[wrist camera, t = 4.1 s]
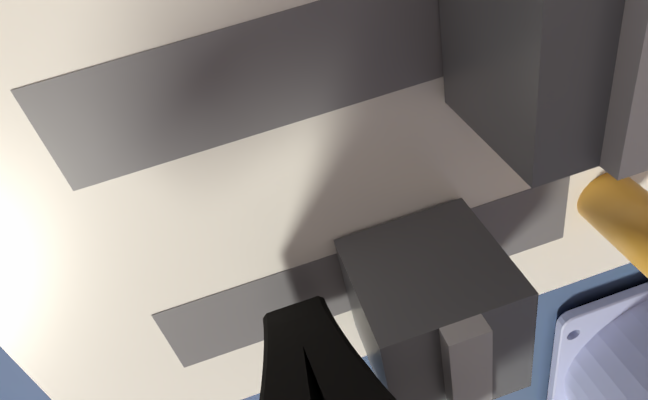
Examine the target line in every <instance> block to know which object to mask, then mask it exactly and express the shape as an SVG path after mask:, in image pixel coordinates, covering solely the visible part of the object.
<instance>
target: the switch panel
mask: <svg viewBox="0 0 648 400" xmlns="http://www.w3.org/2000/svg"><path fill="white" fill-rule="evenodd" d="M459 198H462V199H463V200H464V201H465V202H466V204H467V205H468V206H469V207H470V209H471V210H472V211H473V212H474V214H475V215H476V216H477V217H478V219H479V220H480V221H481V222H482V224H483V225H484V226H485V227H486V229H487V230H488V231H489V232H490V234H491V235H492V236H493V237H494V239H495V240H496V241H497V242H498V244H499V245H500V246H501V247H502V248H503V250H504V251H505V252H506V253H507V255H508V256H509V257H510V258H511V260H512V261H513V262H514V263H515V265H516V266H517V267H518V268H519V270H520V271H521V272H522V273H523V275H524V276H525V277H526V278H527V280H528V281H529V282H530V283H531V285H532V286H533V287H534V288H535V290H536V291H537V292H538V295H540V294H543V293H545V292H548V291H551V290H554V289H557V288H560V287H562V286H565V285H568V284H571V283H574V282H577V281H579V280H582V279H585V278H588V277H591V276H594V275H597V274H599V273H602V272H605V271H608V270H611V269H614V268H616V267H619V266H622V265H625V264H628V263H632V264H633V265H634V266H635V267H636V268H637V269H638V270H639V271H641V272H642V273H643V274H644V275H645V276H646V277H647V278H648V171H645V172H642V173H639V174H636V175H633V176H630V177H627V178H624V179H621V180H616V179H615V178H614V177H612V176H611V175H610V174H609V173H607V172H606V171H605V170H604V169H602V168H601V167H600V166H598V167H595V168H592V169H589V170H586V171H583V172H580V173H577V174H574V175H571V176H568V177H565V178H562V179H559V180H556V181H553V182H550V183H547V184H544V185H541V186H538V187H535V188H531V187H530V186H529V185H528V184H527V183H526V182H525V181H524V180H523V179H522V178H521V177H520V176H519V175H518V174H517V173H516V172H515V171H514V170H513V169H512V168H511V167H510V166H509V165H508V164H507V163H506V162H505V161H504V160H503V159H502V158H501V157H500V156H499V155H498V154H497V153H496V152H495V151H494V150H493V149H492V148H491V147H490V146H489V145H488V144H487V143H486V142H485V141H484V140H483V139H482V138H481V137H480V136H479V135H478V134H477V133H476V132H475V131H474V130H473V129H472V128H471V127H470V126H468V125H467V124H466V123H465V122H464V121H463V120H462V119H461V118H460V117H459V116H458V115H457V114H456V113H455V112H454V111H453V110H452V109H451V108H450V107H449V106H448V105H447V104H446V103H445V94H444V78H443V61H442V45H441V28H440V12H439V0H0V346H1V347H2V348H3V349H4V350H5V352H6V353H7V354H8V355H9V356H10V357H11V358H12V359H13V360H14V361H15V362H16V363H17V364H18V365H19V366H20V367H21V368H22V369H23V370H24V371H25V372H26V373H27V374H28V375H29V376H30V378H31V379H32V380H33V381H34V382H35V383H36V384H37V385H38V386H39V387H40V388H41V389H42V390H43V391H44V392H45V393H46V394H47V395H48V396H49V397H50V398H51V399H52V400H241V399H244V398H247V397H250V396H253V395H255V394H258V393H260V390H261V381H262V370H263V353H264V327H263V317H264V316H265V315H266V313H269V312H272V311H274V310H277V309H280V308H283V307H286V306H289V305H292V304H295V303H298V302H301V301H304V300H307V299H310V298H313V297H316V296H320V297H323V298H324V299H325V301H326V304H327V306H328V308H329V310H330V312H331V314H332V315H333V317H334V319H335V320H336V322H337V324H338V325H339V327H340V328H341V330H342V331H343V333H344V334H345V336H346V337H347V339H348V340H349V342H350V343H351V345H352V346H353V347H354V349H355V350H356V351H357V353H358V354H359V355H360V357H363V356H366V355H367V354H366V351H365V349H364V346H363V344H362V341H361V339H360V336H359V333H358V331H357V328H356V326H355V322H354V318H353V314H352V311H351V307H350V303H349V299H348V295H347V291H346V287H345V283H344V279H343V275H342V271H341V267H340V264H339V260H338V256H337V252H336V248H335V244H334V240H335V239H338V238H341V237H344V236H347V235H350V234H353V233H356V232H359V231H362V230H365V229H368V228H371V227H374V226H377V225H380V224H384V223H387V222H390V221H393V220H396V219H399V218H402V217H405V216H408V215H411V214H414V213H417V212H420V211H423V210H426V209H429V208H432V207H435V206H438V205H441V204H444V203H447V202H450V201H453V200H456V199H459Z"/></svg>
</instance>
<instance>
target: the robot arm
mask: <svg viewBox="0 0 648 400" xmlns="http://www.w3.org/2000/svg"><path fill="white" fill-rule="evenodd" d="M263 327H264V353H263V370H262V381H261V390H260V399H259V400H397V399H396V398H395V397H394V396H393V395H392V394H391V393H390V392H389V391H388V389H387V388H386V387H385V386H384V385H383V384H382V382H381V381H380V380H379V379H378V378H377V377H376V375H375V374H374V373H373V372H372V370H371V369H370V368H369V367H368V365H367V364H366V363H365V362H364V360H363V359H362V358H361V357H360V355H359V354H358V353H357V351H356V350H355V349H354V347H353V346H352V345H351V343H350V342H349V340H348V339H347V337H346V336H345V334H344V333H343V331H342V330H341V328H340V327H339V325H338V324H337V322H336V320H335V319H334V317H333V315H332V314H331V312H330V310H329V308H328V306H327V304H326V301H325V299H324V298H323V297H320V296H316V297H313V298H310V299H307V300H304V301H301V302H298V303H295V304H292V305H289V306H286V307H283V308H280V309H277V310H274V311H272V312H269V313H266V315H265V316H264V317H263ZM547 400H648V282H647V283H644V284H641V285H638V286H635V287H633V288H630V289H627V290H624V291H621V292H619V293H616V294H613V295H610V296H607V297H605V298H602V299H599V300H596V301H593V302H590V303H588V304H585V305H582V306H579V307H576V308H574V309H571V310H568V311H566V312H564V313H563V314H562V315H561V316H560V317H559V318H558V320H557V322H556V329H555V337H554V345H553V353H552V362H551V370H550V378H549V386H548V394H547Z"/></svg>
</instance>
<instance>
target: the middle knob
mask: <svg viewBox="0 0 648 400" xmlns="http://www.w3.org/2000/svg"><path fill="white" fill-rule="evenodd" d="M439 12H440V28H441V45H442V61H443V78H444V94H445V103H446V104H447V105H448V106H449V107H450V108H451V109H452V110H453V111H454V112H455V113H456V114H457V115H458V116H459V117H460V118H461V119H462V120H463V121H464V122H465V123H466V124H467V125H468V126H470V127H471V128H472V129H473V130H474V131H475V132H476V133H477V134H478V135H479V136H480V137H481V138H482V139H483V140H484V141H485V142H486V143H487V144H488V145H489V146H490V147H491V148H492V149H493V150H494V151H495V152H496V153H497V154H498V155H499V156H500V157H501V158H502V159H503V160H504V161H505V162H506V163H507V164H508V165H509V166H510V167H511V168H512V169H513V170H514V171H515V172H516V173H517V174H518V175H519V176H520V177H521V178H522V179H523V180H524V181H525V182H526V183H527V184H528V185H529V186H530V187H531V188H535V187H538V186H541V185H544V184H547V183H550V182H553V181H556V180H559V179H562V178H565V177H568V176H571V175H574V174H577V173H580V172H583V171H586V170H589V169H592V168H595V167H598V166H600V167H601V168H602V169H604V170H605V171H606V172H607V173H609V174H610V175H611V176H612V177H614V178H615V179H616V180H621V179H624V178H627V177H630V176H633V175H636V174H639V173H642V172H645V171H648V0H439Z"/></svg>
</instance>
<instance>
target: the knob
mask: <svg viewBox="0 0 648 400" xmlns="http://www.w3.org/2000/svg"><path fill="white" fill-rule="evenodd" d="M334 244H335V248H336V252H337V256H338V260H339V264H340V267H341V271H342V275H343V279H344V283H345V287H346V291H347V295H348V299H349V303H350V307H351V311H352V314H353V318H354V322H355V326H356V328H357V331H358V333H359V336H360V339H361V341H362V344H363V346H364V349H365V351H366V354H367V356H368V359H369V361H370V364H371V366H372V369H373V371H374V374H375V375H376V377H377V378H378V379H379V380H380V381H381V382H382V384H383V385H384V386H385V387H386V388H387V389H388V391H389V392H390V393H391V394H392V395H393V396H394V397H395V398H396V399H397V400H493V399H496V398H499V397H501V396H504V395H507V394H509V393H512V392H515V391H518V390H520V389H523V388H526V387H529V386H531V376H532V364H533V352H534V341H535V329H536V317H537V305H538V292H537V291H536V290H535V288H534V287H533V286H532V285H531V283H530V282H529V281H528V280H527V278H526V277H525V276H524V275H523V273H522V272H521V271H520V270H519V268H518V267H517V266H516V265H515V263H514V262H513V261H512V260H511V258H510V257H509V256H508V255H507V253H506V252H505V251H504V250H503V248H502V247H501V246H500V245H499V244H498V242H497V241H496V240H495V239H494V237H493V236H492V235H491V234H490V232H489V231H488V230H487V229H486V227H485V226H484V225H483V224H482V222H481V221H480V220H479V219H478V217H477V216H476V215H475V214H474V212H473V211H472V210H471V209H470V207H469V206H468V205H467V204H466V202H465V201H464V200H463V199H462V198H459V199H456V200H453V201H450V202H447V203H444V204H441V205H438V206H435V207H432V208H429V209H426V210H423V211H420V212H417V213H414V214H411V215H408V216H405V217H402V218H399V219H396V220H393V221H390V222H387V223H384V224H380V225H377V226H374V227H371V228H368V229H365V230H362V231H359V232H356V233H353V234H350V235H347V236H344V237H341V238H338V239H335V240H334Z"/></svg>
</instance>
